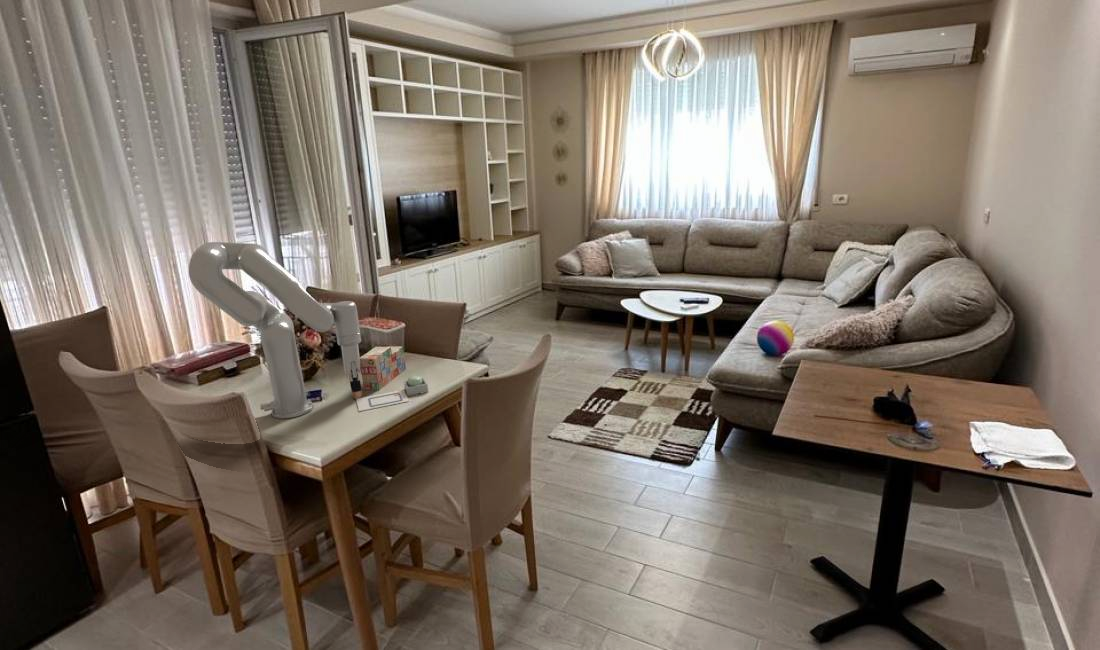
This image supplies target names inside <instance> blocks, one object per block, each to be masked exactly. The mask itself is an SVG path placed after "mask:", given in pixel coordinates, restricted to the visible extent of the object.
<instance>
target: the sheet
mask: <svg viewBox="0 0 1100 650" xmlns="http://www.w3.org/2000/svg"><path fill="white" fill-rule="evenodd" d="M355 400H356V405H357V409H358V412H365V411H369V410H375V409H380V408H384V407H390V406H394V404H395V405H400V404H404V402H405V403H408V402H409V398H408V395H407V393H406V391H405V389H400V390H394V391H389V392H385V393H379V394H374V395H369V396H364V397H362V398H358V399H355ZM399 403H400V404H399ZM409 403H410V402H409Z"/></svg>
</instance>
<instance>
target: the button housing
mask: <svg viewBox="0 0 1100 650" xmlns="http://www.w3.org/2000/svg"><path fill="white" fill-rule="evenodd" d="M422 382H423V384H422V385H417V386H412V387H409V384H408V379H407V380H404V381H403V385H404V391H405V394H406V396H407V397H411V396H415V395H414V394H416V395H419V394H418V393H421V394H423V393H422V392H426V393H428V392H429V386H428V382H427V381H426V379H425V377H422ZM427 391H428V392H427ZM410 395H411V396H410Z"/></svg>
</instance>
